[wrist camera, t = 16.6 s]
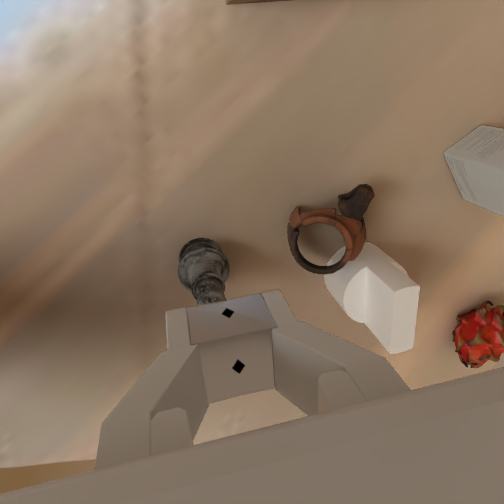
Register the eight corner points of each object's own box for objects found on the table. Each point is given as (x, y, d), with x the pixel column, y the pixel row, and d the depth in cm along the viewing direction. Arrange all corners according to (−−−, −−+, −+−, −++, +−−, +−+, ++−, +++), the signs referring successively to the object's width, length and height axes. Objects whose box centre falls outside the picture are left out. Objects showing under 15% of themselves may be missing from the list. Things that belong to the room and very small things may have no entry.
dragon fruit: (483, 282, 62) (442, 336, 68) (471, 297, 56) (427, 354, 62) (538, 315, 58) (490, 368, 64) (532, 334, 52) (480, 392, 58)
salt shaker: (211, 227, 46) (228, 275, 35) (232, 265, 49) (254, 320, 38) (167, 250, 46) (171, 304, 35) (190, 286, 48) (201, 347, 38)
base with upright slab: (323, 248, 51) (368, 295, 40) (386, 235, 52) (445, 278, 41) (324, 304, 55) (365, 361, 44) (382, 291, 56) (436, 343, 45)
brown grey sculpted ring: (342, 262, 53) (335, 295, 46) (283, 227, 53) (267, 253, 46) (397, 191, 46) (398, 215, 39) (329, 151, 47) (318, 168, 40)
